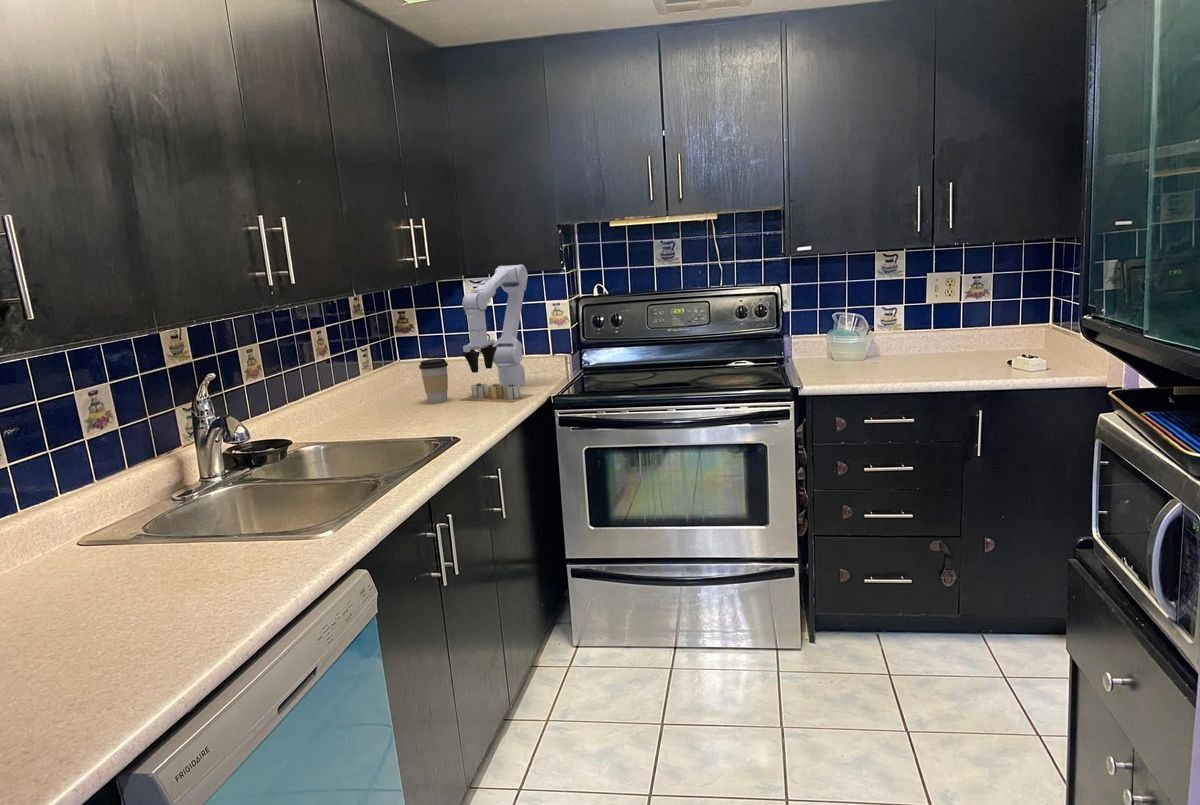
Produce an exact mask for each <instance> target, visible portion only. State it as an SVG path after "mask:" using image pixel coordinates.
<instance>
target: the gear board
mask: <svg viewBox="0 0 1200 805" xmlns="http://www.w3.org/2000/svg"><path fill="white" fill-rule="evenodd" d="M476 384H477V386H481V384H482V383H481V382H478V383H476ZM492 385H493V386H497V383H492ZM509 386H510V387H513V384H510V385H509ZM488 396H489V393H488ZM533 396H534V394H522V393H521V398H519V399H514V400H505V399H504V398H502V399H489V397H486V398H480V399H479V398H478V399H473V398H472V395H471V396H468V397H464V398H461V399H458V401H461V402H463V401H464V402H484V403H485V402H489V403H513V404H514V403H517V402H519V401H521V400H525V399H527V398H530V397H533Z"/></svg>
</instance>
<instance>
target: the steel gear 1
mask: <svg viewBox="0 0 1200 805" xmlns="http://www.w3.org/2000/svg"><path fill="white" fill-rule="evenodd" d="M477 384H478V383H476V384H472V385H471V386H470V388H471V389H470V390H471V396H472V398H473V399H478V398H479V399H480V398H486V397H489V396H488V386H489V385H488V384H487V383H481V386H477Z"/></svg>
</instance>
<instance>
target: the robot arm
mask: <svg viewBox="0 0 1200 805" xmlns="http://www.w3.org/2000/svg"><path fill="white" fill-rule="evenodd" d="M494 270H495V271H494V274H493V275H492V276H491V277H490V279H489V280H487V281H486V280H485V281H480V284H479V285H477V287H476V288H474V289H473V290H472V291H471V293H470V292H469V293H468V292H467V293H466V294H465V295H464V296H463V298H462V302H461V305H462V307H463V308H462V309H463V310H464V312H465V316H466V317H467V323H468V332H469V333H468V334H469V343H468V344H466V345H463V346H462V350H463V351H462V355H463V356H464V358H465V359H466V361H467V363H468V365H469V368H470V371H471V373H479V356H480V353H482V354H481V355H482V357H483V360H484V361H483V362H484V366H485V369H488V370H489V369H490V370H491V369H492V368H493V365H494V364H495V367H497V373H498V384H504V385H505V386H506V385H510V384H513V385H514V384H517V385H520V387H527V385H526V373H525V371H526V370H525V368H524V366H523V365H522V364H521V362H522V361H523V358H524V357H523V344H522V343H521V341H519V339H518V334H519V333H518V332H519V325H520V320H521V313H522V307H523V301H524V295H525V292H526V290H527V284H528V278H529V277H528V276H529V274H528V271H527V268H526V267H525V265H524V264H516V265H515V264H513V265H512V264H511V265H498V267H497V268H495V269H494ZM499 287H501V289H502V290H503V292H506V293H507V295H508V296H507V300H506V307H505V308H506V309H505V314H504V320H503V325H502V332H501V336H500V337H499V338H498V339H496V341H495V339H488V333H487V332H488V330H487V322H486V313H485V310H487V307H488V303H489V302H490V300H491V299H492V298H493V297H494V296H495V295H496V292H497V289H499ZM477 350H480V351H481V352H480V351H477Z"/></svg>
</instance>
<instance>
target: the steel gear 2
mask: <svg viewBox="0 0 1200 805" xmlns="http://www.w3.org/2000/svg"><path fill="white" fill-rule="evenodd" d="M503 393H504V399H505V400H514V399H519V398H521V394H522V393H521V386H520V385H517V384H514V385H513V387H510V386H509V385H506V386H503Z"/></svg>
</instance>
